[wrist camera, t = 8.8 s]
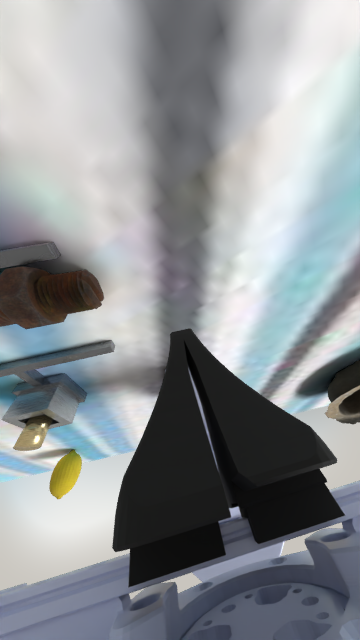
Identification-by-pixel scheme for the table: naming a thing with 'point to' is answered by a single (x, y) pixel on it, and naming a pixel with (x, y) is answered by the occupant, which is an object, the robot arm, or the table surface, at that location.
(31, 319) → the bolt
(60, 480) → the lemon
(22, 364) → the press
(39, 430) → the press pin
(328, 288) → the table surface
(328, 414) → the stone bowl
